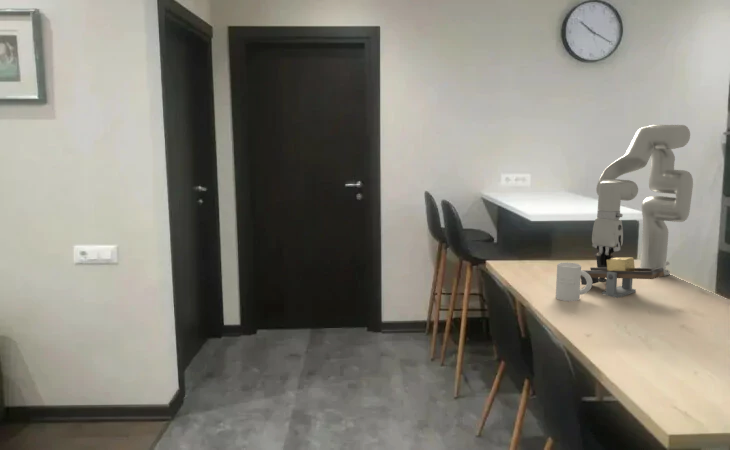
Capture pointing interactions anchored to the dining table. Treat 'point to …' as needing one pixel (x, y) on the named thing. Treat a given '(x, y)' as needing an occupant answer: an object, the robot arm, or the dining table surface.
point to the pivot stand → (617, 291)
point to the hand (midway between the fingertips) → (604, 264)
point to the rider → (620, 264)
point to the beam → (623, 274)
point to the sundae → (601, 265)
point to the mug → (571, 282)
